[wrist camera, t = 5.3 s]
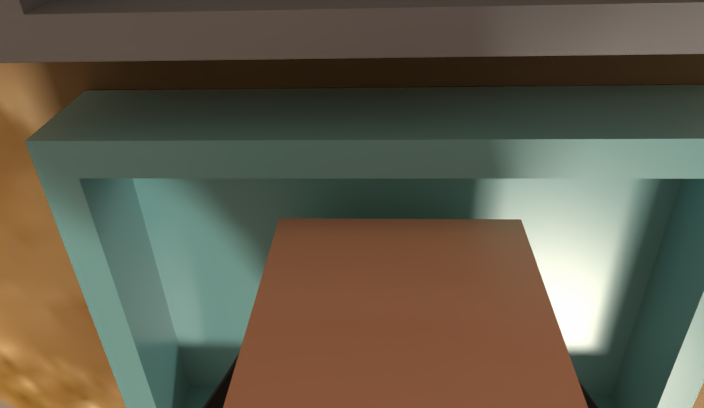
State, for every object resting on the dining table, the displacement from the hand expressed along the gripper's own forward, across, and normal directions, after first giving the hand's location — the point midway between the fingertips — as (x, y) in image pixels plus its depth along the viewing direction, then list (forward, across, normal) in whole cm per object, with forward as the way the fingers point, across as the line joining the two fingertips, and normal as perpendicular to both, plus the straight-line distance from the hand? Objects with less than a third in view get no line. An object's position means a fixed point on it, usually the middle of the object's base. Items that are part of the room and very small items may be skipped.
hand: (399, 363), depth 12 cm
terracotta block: (+1, 0, 0) cm, 1 cm away
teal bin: (+3, 0, 0) cm, 3 cm away
